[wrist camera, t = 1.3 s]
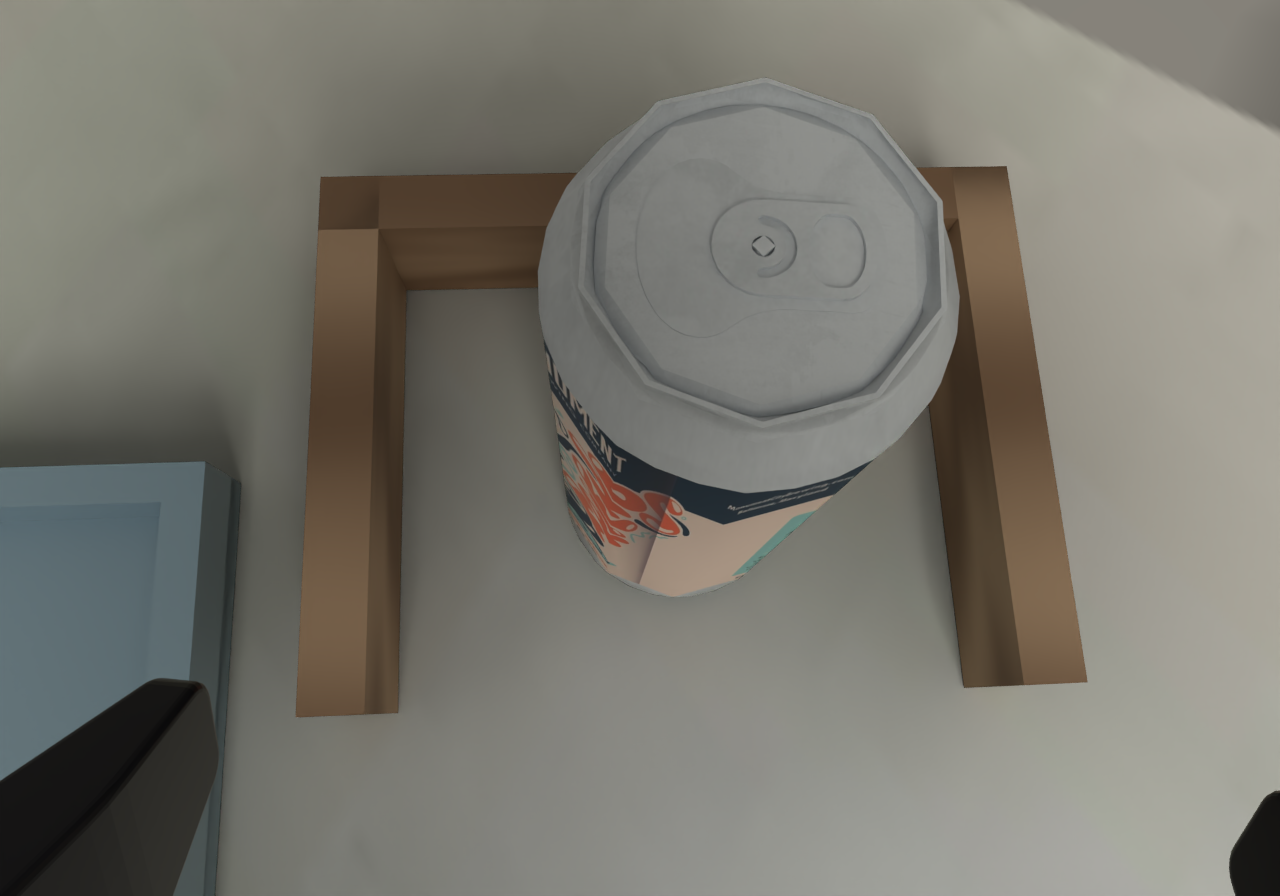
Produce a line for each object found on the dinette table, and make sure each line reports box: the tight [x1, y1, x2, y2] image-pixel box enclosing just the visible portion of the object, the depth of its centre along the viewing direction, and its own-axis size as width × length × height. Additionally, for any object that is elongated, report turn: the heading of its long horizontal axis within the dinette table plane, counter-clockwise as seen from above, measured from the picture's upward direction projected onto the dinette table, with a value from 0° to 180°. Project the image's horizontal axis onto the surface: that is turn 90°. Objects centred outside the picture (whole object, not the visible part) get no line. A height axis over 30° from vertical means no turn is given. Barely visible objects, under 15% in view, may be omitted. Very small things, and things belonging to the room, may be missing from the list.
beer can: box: [538, 77, 960, 597], centre depth 16 cm, size 5×5×12 cm
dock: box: [296, 166, 1087, 717], centre depth 20 cm, size 11×14×3 cm
